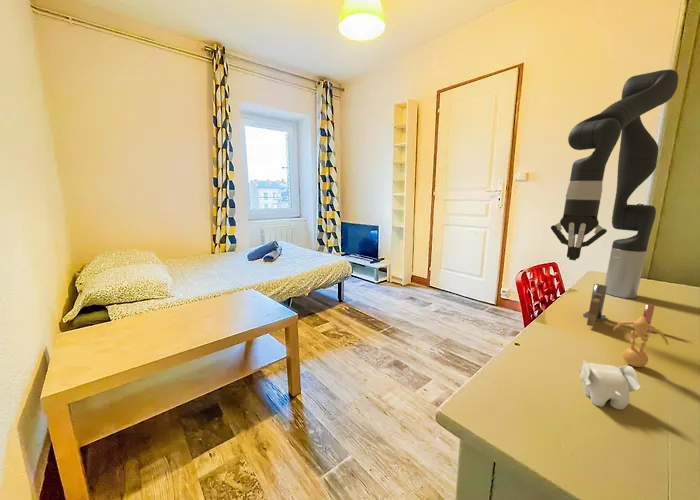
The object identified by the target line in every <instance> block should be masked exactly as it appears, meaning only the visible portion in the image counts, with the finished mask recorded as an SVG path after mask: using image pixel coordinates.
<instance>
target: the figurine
mask: <svg viewBox="0 0 700 500" xmlns="http://www.w3.org/2000/svg"><path fill="white" fill-rule="evenodd" d="M622 325H633V326H634V327H635V328H634V327H633V328H634V330H631V331H630V337H631V340H630V343H631V344H630V347H628V348H625V349H624V350H623V352H622V358H623V360H624V361H625V363H627V364H628V366H631V367H635V368H642V367H645V366H646V365H647V364H648V362H649V357H648V355H647V353H646V352H645V351H644V348H645V347H646V343H647V342H648V341H649V337H650V336H649V334H647V333H646V332H647V330H648V329H651V330H653V331H654V332H655V333H656V334H659V335H660V337H661V338H662V339H663V341H664V342H665V344H666V346H669V342H668V339H667V337H666V336H665V334H664V333H663V332H662V331H660V330H659V329H658V328H656V327H655V326H653V325H652V324H649V323H648V322H647V319H646V317H645V316H643V315H642V316H640V317H639V318H638V319H635V320H629V321H626V320H625V321H620V322H619V323H617V324H616V325H615V326H614V327H613V329H612V330H613V331H616V330H617V329H618V328H619V327H621V326H622ZM654 327H655V328H654ZM637 338H640V340H641V341H642V343H640V348H638V347H635V343H636V341H635V340H636V339H637Z"/></svg>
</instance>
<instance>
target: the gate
mask: <svg viewBox="0 0 700 500" xmlns="http://www.w3.org/2000/svg"><path fill="white" fill-rule="evenodd" d="M601 297H602V294H597V293H595V294H594V299H593V300H592V301H591V300H590V303H591V305H590V304H589V308H590V310H589V309H588V311H589V316H588V317H587V322H586V325H587V326H590V327H595V326H596V321H597V320H596V318H597V317H598V312H599V307H600V302H601Z"/></svg>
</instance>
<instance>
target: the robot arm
mask: <svg viewBox="0 0 700 500" xmlns="http://www.w3.org/2000/svg"><path fill="white" fill-rule="evenodd" d="M624 82H625V83H624V85H623V87H622V92H621V98H620V99H619V100H618V101H615V102H614V103H611V104H610V105H609V106H607V107H606V108H605V109H604V110H602V111H601V112H600V113H598V114H595V115H592V116H590V117H588V118H586V119H584V120H581V121H580V122H578V123H577V124H576V125H574V127H573V128H572V129H571V130H570V132H569V134H568V138H567V142H568V145H569V147H571V148H572V149H573V150H576V151H587V150H593V149H594V150H593V152H592V153H591V155H588V156H586V157H583V158H579V159H576V160H575V161H573V163H572V167H571V172H570V177H569V178H570V179H569V183H568V187H567V190H566V193H565V202H564V209H563V215H562V217H561V219H560V220H559V222H558V223H556V224H553V225H552V226H550V229H551V231H552V232H553V233H554V235H555V237H556V238H557V239H558V240H559V242H560V243H561V244H562V245H563V244H564V245H566V246H567V253H566V257H567V258H568V260H569V261H576V260H578V259H579V258H580V257H581V251H582V248H584V247H588V246H591V245H592V244H593V243H595V242H596V241H597V240H598V239H600V238H601V237H602V236H604V235H605V234H606V233H607V232H608V230H607V229H606V228H604V227H602V226H601V225H600V224H599V219H598V215H599V210H600V205H601V199H602V193H603V181H604V176H605V170H606V166H607V163H608V160H609V158H610V156H611V154H612V152H613V151H614V149H615V147H616V144H617V143H618V142H619V139H620V144H619V145H620V146H619V152H618V160H617V176H616V177H617V179H616V180H617V181H616V192H615V198H614V203H613V204H614V205H613V210H612V214H611V215H612V217H611V225H612V227H613V228H614V229H615V230H621V231H629V232H630V231H632V232H636V234H634V235H632V236H629V237H626V238H619V239H615V240H613V241H612V245H611V249H610V250H611V251H610V255H609V256H610V257H609V259H608V266H607V270H606V276H605V281H604V285H605V286H607V289H606V294H608V295H610V296H614V297H618V298H624V299H636V298H637V297H638V296H637V295H638V292H639V287H640V281H641V277H642V273H643V269H644V264H645V261H646V260H645V259H646V255H647V254H646V253H647V250H648V245H649V242H650V236H651V233H652V229H653V226H654V223H655V219H656V214H657V210H656V209H657V208H656V207H655V206H654V205H651V204H649V205H648V204H628V200H629V199H630V197H631V196H632V194H633V193H634V192H635V191H636V190H637V189H638V188H639V187H640V186H641V185H642V184H643V183H644V182H645V181H646V180H647V179H648V178H649V177H650V176H651V175H652V174H653V173H654V172H655V170H656V168H657V165H658V156H659V145H658V143H657V141H656V140H655V139H654V137H653V136H652V135H651V133H650V132H649V131H648V129H647V128H646V127H645V125H644V124H643V122H642V119H641V116H642V115H644V114H646V113H647V112H649V111H651V110H653V109H655V108H657V107H659V106H663V104H666V103H668V102H669V101H670V100H671V98H673V96H674V94H675V93H676V91H677V90H678V89H677V88H678V85H679V74H678V72H677V71H676V70H674V69H662V70H657V71H652V72H646V73H642V74H635V75H632V76H630V77H629V78H628V79H627V80H626V81H624ZM594 229H595V230H594ZM562 230H564V231H565V232H566V233H567V235H568V236H567V237H568V239H567V238H566V236H565V235H564V234H563V233H562ZM592 231H594V235H593V236H592V237H590V238H589V239H587V240H586V241H584V239H585V236H586V235H588V234H589V233H591V232H592ZM576 235H577V237H576Z"/></svg>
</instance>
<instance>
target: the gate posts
mask: <svg viewBox="0 0 700 500" xmlns="http://www.w3.org/2000/svg"><path fill="white" fill-rule="evenodd" d="M606 289H607V286H605V284H601V283H600V284H599V283H594V284H593V288H592V293H591V298H590V304H589V306H590V305H591V301H592V300H593V299H594V294H595V293H597V294H602V297H601V302H600V307H599V312H598V317H597V318H596V321H600V322H602V321H603V320H606V319H607V315H604V314H603V309H604V303H605V300H606V299H605V298H606V294H607V293H606ZM655 307H656V306H655V304H650V303H645V304H644V310H643V313H642V316H645V317H646V319H647V322H648V323H649V324H650V325H652V319H653V315H654V310H655ZM589 310H590V307H589V309H588V311H586V312H585V313H583V318H588V316H589ZM653 327H654V328H656V327H655V326H653ZM633 328H634V329H635V327H633ZM646 332H647V333H651V334H653V333H654V332H655V331H653V330H651V329H648V330H647V331H646Z"/></svg>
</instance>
